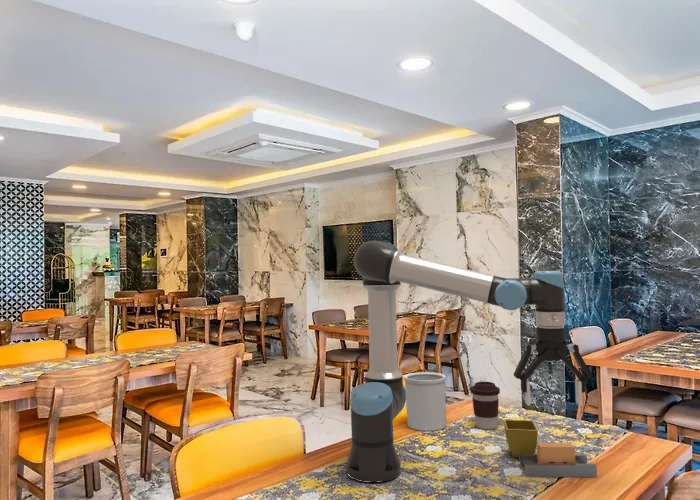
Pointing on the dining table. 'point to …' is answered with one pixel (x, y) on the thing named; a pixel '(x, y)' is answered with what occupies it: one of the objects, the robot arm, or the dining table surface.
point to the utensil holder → (425, 401)
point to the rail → (557, 467)
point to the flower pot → (521, 436)
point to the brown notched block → (555, 452)
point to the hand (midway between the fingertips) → (553, 404)
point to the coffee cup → (485, 404)
